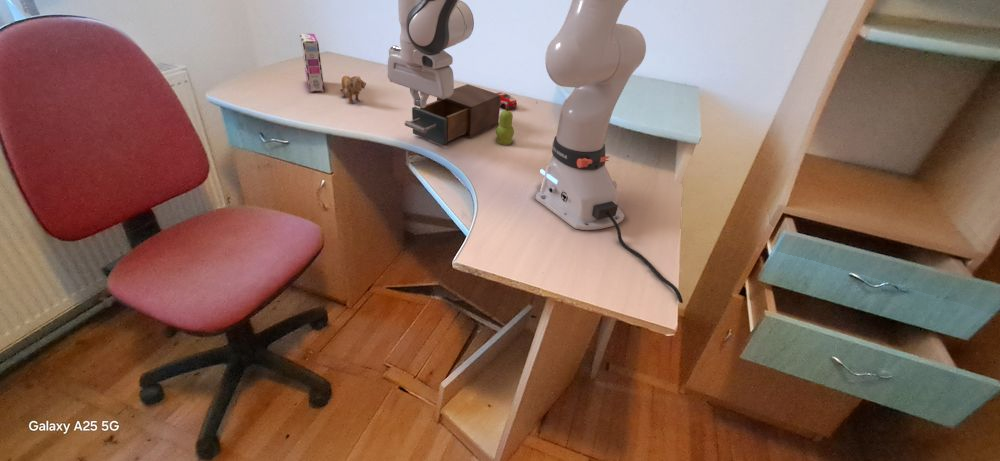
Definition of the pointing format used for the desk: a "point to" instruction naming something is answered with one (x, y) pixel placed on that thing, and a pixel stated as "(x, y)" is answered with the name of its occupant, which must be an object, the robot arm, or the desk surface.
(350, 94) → the lion figurine
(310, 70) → the candy bar box
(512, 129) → the pear
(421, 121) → the drawer
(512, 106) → the race car
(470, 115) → the cabinet
